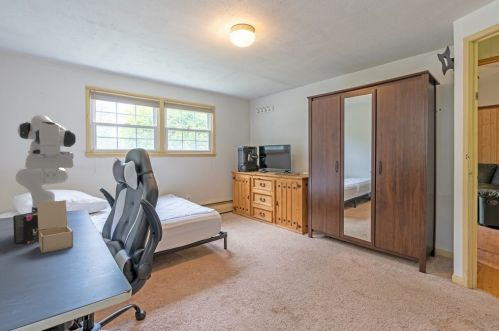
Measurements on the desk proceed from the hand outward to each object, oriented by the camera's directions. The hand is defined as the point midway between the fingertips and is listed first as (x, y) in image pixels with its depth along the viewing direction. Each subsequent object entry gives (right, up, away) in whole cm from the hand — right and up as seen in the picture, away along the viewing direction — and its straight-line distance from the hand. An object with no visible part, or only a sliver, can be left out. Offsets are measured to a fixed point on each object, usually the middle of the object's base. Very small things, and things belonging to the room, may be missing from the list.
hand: (50, 176), depth 132 cm
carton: (+10, -35, -9) cm, 38 cm away
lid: (+3, -20, -3) cm, 21 cm away
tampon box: (-11, -35, +1) cm, 37 cm away
